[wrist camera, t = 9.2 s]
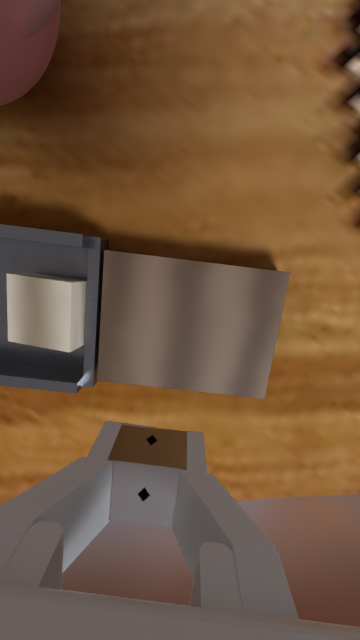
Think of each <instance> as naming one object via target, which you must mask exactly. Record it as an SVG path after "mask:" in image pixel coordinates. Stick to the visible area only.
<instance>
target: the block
mask: <svg viewBox="0 0 360 640" xmlns="http://www.w3.org/2000/svg"><path fill="white" fill-rule="evenodd" d="M6 276H7V321H8V341H10V342H15V343H20V344H26V345H31V346H37V347H42V348H48V349H53V350H58V351H64V352H69V353H70V352H72V351H74V350H75V349H77V348H79V347H81V346H83V345H84V344H85V320H86V297H87V280H81V279H74V278H67V277H59V276H52V275H45V274H38V273H6Z"/></svg>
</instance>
